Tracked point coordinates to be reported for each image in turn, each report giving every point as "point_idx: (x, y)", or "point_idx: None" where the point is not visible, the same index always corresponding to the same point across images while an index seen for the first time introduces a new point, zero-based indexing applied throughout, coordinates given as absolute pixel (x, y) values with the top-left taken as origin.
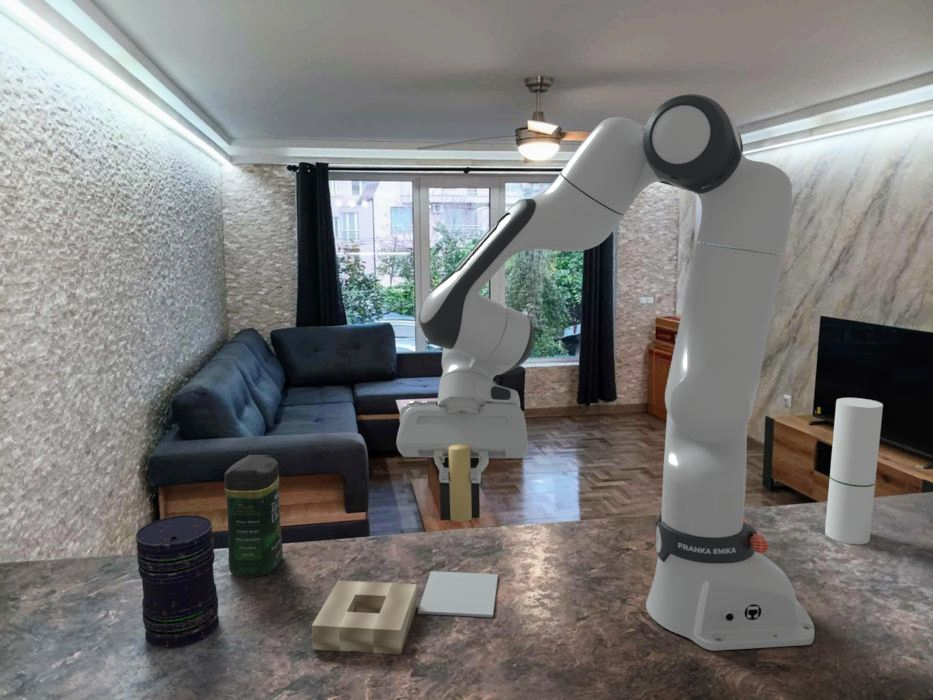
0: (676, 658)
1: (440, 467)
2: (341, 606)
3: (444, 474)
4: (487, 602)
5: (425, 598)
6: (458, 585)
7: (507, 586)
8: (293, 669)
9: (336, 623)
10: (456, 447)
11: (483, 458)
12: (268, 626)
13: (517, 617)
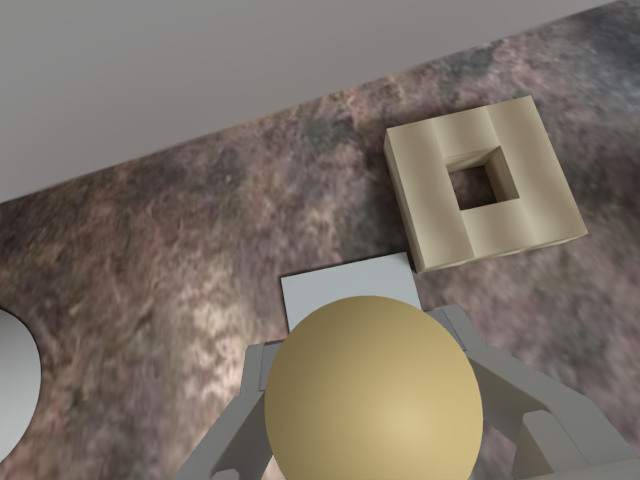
0: (25, 257)
1: (482, 346)
2: (519, 155)
3: (435, 319)
4: (299, 313)
5: (410, 293)
6: None
7: None
8: (507, 78)
9: (495, 112)
10: (399, 401)
11: (204, 464)
12: (622, 145)
13: (243, 291)
